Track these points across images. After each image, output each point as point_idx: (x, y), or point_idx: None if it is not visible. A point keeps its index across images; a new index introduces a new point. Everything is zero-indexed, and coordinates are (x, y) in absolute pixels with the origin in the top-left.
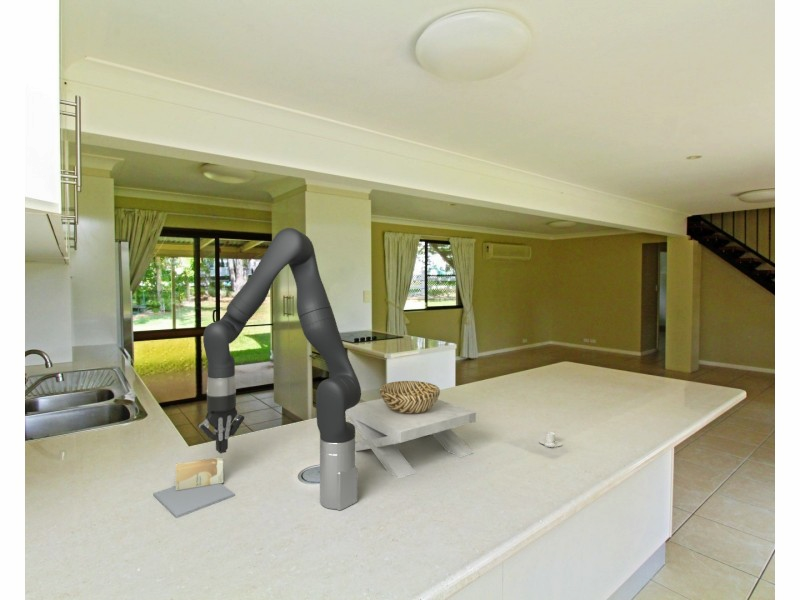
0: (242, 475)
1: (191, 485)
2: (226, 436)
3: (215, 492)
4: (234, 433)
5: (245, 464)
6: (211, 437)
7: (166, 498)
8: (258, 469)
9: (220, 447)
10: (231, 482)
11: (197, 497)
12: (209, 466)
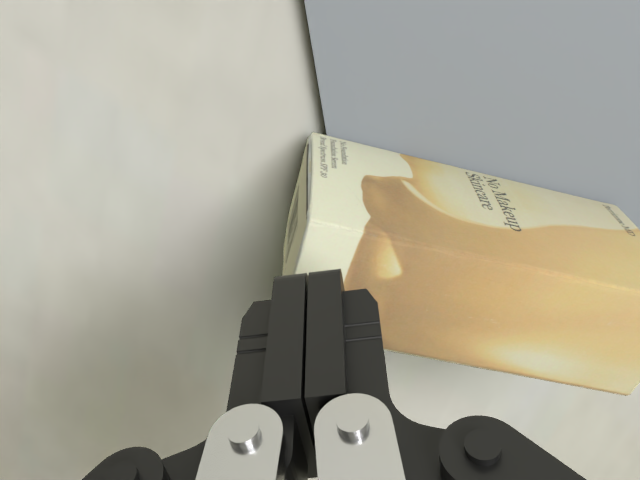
0: (150, 193)
1: (528, 191)
2: (248, 447)
3: (412, 8)
4: (94, 475)
5: (105, 325)
6: (549, 473)
7: None
8: (25, 216)
9: (344, 329)
10: (246, 134)
11: (556, 9)
12: (430, 235)
